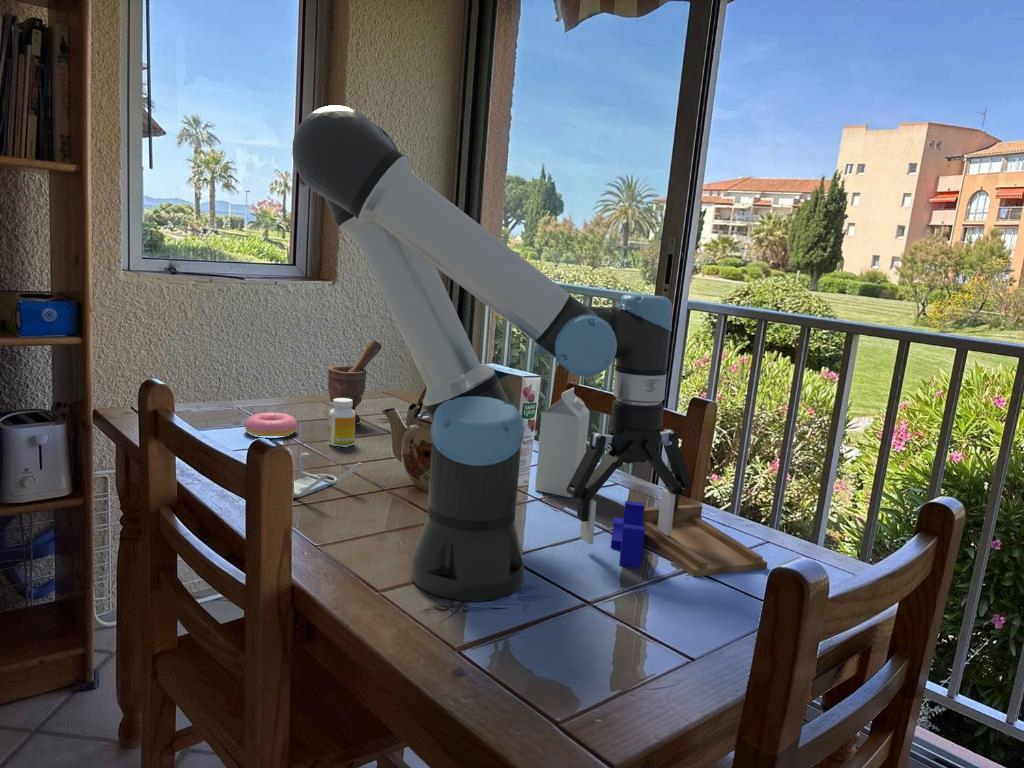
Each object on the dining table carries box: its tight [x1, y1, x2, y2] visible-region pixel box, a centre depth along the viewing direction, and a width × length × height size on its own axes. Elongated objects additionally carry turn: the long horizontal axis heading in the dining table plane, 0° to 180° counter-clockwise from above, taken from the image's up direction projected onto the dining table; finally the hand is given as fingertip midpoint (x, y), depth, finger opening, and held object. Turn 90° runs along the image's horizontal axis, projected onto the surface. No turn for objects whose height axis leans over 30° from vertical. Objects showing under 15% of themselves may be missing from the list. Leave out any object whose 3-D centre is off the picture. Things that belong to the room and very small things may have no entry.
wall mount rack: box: [293, 452, 363, 499], centre depth 126 cm, size 16×14×6 cm
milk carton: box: [534, 387, 591, 499], centre depth 137 cm, size 7×7×19 cm
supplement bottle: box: [327, 398, 356, 447], centre depth 155 cm, size 5×5×10 cm
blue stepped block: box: [610, 500, 646, 569], centre depth 112 cm, size 12×4×6 cm, turn 170°
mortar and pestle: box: [327, 340, 382, 424], centre depth 173 cm, size 12×9×20 cm
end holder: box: [642, 503, 768, 578], centre depth 115 cm, size 13×18×4 cm
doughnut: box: [244, 412, 299, 439], centre depth 160 cm, size 11×11×4 cm
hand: (626, 537), depth 113 cm, fingers open, 13 cm apart
